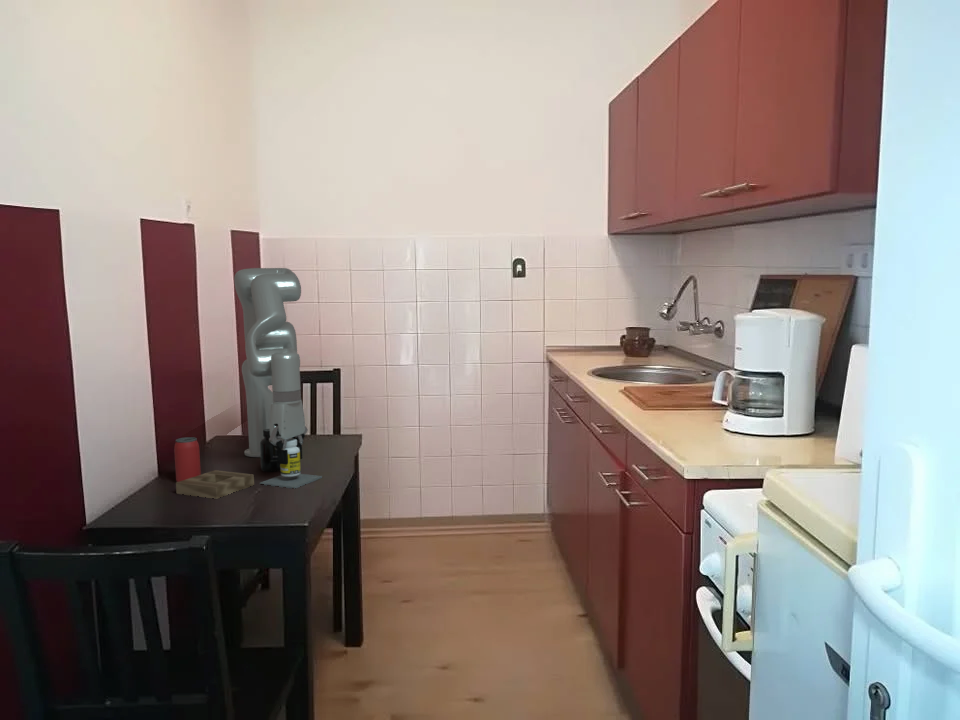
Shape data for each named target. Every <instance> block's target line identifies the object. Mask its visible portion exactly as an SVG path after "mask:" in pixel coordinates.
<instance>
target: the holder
mask: <svg viewBox="0 0 960 720" xmlns="http://www.w3.org/2000/svg"><path fill="white" fill-rule="evenodd" d="M254 476H255V475H254V473H253V474H252V473H251V474H250V473H243V472H233V471H225V470H218V469H215V470H211V471H207V472H206V473H205V472H204V473H201V475H198V476H195V477H192V478H189V479H186V480H183V481H180V482H177V481H176V482H175V489H176V490H175V491H176V493H175V494H177V495H182V494H184V495H185V496H190V495H191V497H197V496H199V497H200V498H205V497H206V499H212V498H214V499H215V500H218V499H221V498H223V496H224V497H226V496H229V495H231V493H232V494H234V493H233V492H235V493H237V492H240V491H243V490H245V489H248V488H250V486H251V487H253V485H254V486H255V477H254ZM242 489H243V490H242ZM239 490H240V491H239ZM236 491H237V492H236ZM228 494H229V495H228ZM220 497H221V498H220Z"/></svg>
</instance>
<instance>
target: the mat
mask: <svg viewBox="0 0 960 720" xmlns="http://www.w3.org/2000/svg"><path fill="white" fill-rule="evenodd" d="M322 478H323V475H316V474H314V475H313V474H308V473H307V474H306V473H300V475H298V476H294V477H284V476H282V475H281V474H279V475H278V476H275V477H274V476H273V477H272V478H269V479H267V480H264V481H260V482H259V485H260V484H264V485H263V486H267V485H271V486H270V487H275V486H279V487H278V488H283V487H286V488H285V489H292V488H294V489H295V488H296V489H298V488H301V487H303V486H305V484H306V485H308V484H311V483H313V482H315V481H318V480H320V479H322ZM300 486H301V487H300Z"/></svg>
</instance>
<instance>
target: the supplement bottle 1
mask: <svg viewBox="0 0 960 720" xmlns="http://www.w3.org/2000/svg"><path fill="white" fill-rule="evenodd" d="M263 437H264V438H263V439H262V440H261V442H260V455H261V457H260V470H261V471H263V472H265V471H266V472H267V473H271V472H272V473H273V472H274V471H275V472H279V471H280V472H281V468H280V464H278V462H277V450H276V449H275V447H274V446H273V444H272V443H271V442H269V438H270V429H265V430H263ZM280 443H281V444H282V441H280ZM275 472H274V473H275Z"/></svg>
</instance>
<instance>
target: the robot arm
mask: <svg viewBox="0 0 960 720" xmlns="http://www.w3.org/2000/svg"><path fill="white" fill-rule="evenodd" d="M298 277H299V276H298V275H297V274H296V273H295V272H293V271H292V270H291V269H290V268H287V267H265V268H264V267H250V268H243V269H240V270H238V271H237V272H235V275H234V277H233V279H234V288H235V292H236V294H237V297H238V299H239V302H240V304H241V308H242V312H243V313H242V316H243V328H244V329H243V331H244V332H243V333H244V343H245V346H244V347H245V348H244V351H245V355H246V359H245V360H244V361H243V362H242V365H241V373H242V379H243V384H244V389H245V400H246V414H247V428H248V429H247V432H248V448H247V449H245V450H244V456H246V457H251V458H261V455H260V442H261V440H262V439H263V438H264V437H263V430H265V429H270V438H269V442H271V443H272V444H273V446H274V447H275V449H276V450H277V462H278V464H288V451H287V450H285V449H286V444H287V439H296V440H297V445H296V447H298V448H299V449H300V460H302V459H303V446H302V445H303V444H304V439H305V437H306V434H307V432H308V428H307V427H306V419H305V411H304V406H303V401H302V397H301V396H302V394H301V393H302V392H301V391H302V390H301V371H300V370H301V369H300V367H301V358H300V354H299V353H298V344H297V343H298V342H297V341H298V340H297V332H296V329H295V327H294V325H293V324H292V323H291V322H289V321H287V314H286V310H285V309H286V308H285V304H284V303H286V302H287V303H289V302H290V303H291V302H292V303H293V302H297V301H299V300H300V299H301V296H302V284H301V282H300V279H299V278H298ZM270 386H271V388H272V389H270V388H269V387H270ZM280 441H283V442H282V444H281V443H280Z"/></svg>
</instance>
